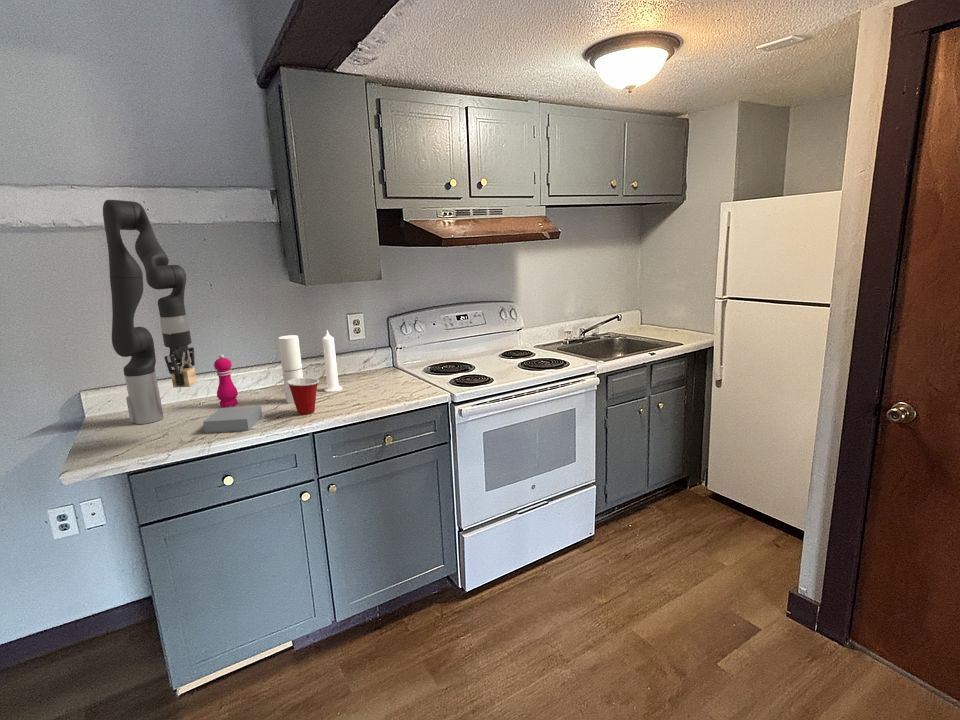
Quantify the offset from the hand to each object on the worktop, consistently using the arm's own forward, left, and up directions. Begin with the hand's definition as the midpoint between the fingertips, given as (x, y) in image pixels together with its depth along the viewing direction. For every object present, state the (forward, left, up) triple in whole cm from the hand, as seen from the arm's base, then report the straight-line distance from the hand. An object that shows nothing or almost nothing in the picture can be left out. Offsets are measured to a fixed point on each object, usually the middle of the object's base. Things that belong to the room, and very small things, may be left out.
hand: (185, 382), depth 170 cm
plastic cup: (+32, +17, -18) cm, 40 cm away
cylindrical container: (+24, +33, -18) cm, 44 cm away
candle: (+36, +45, -18) cm, 60 cm away
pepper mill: (-1, +32, -18) cm, 37 cm away
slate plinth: (+10, +8, -17) cm, 22 cm away
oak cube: (0, 0, -1) cm, 1 cm away
